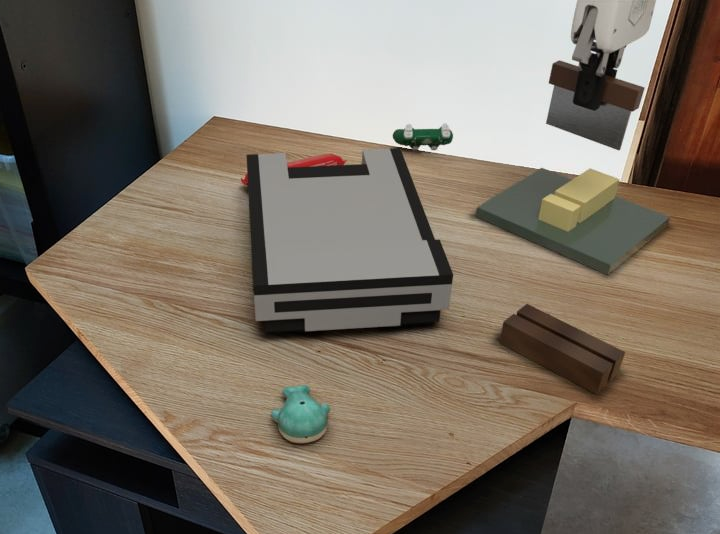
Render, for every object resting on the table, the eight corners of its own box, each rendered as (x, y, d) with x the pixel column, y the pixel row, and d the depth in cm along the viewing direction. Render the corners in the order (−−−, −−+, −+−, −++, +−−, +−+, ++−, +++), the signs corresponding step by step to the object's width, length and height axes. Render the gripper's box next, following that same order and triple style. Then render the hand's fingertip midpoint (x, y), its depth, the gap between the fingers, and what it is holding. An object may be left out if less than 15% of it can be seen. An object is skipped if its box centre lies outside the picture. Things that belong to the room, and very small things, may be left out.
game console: (397, 194, 110) (401, 139, 104) (445, 336, 86) (453, 274, 81) (249, 201, 108) (245, 145, 103) (257, 347, 85) (253, 285, 79)
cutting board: (667, 226, 104) (670, 216, 103) (607, 275, 96) (610, 265, 95) (539, 176, 114) (541, 167, 113) (475, 216, 106) (476, 206, 105)
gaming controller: (392, 156, 123) (397, 143, 117) (391, 132, 123) (396, 118, 117) (450, 155, 123) (458, 142, 117) (449, 131, 123) (457, 117, 117)
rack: (618, 373, 82) (625, 351, 80) (596, 395, 80) (603, 373, 78) (522, 324, 88) (526, 303, 86) (498, 343, 86) (503, 321, 84)
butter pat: (576, 226, 101) (581, 205, 99) (567, 232, 100) (572, 211, 98) (546, 213, 103) (550, 193, 101) (538, 219, 102) (542, 199, 100)
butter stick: (614, 199, 107) (619, 178, 105) (580, 223, 102) (585, 202, 100) (585, 187, 109) (590, 168, 107) (550, 211, 104) (554, 190, 102)
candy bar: (349, 155, 112) (349, 175, 114) (338, 145, 115) (337, 164, 117) (247, 179, 107) (248, 199, 109) (236, 168, 109) (238, 187, 111)
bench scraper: (626, 149, 91) (645, 87, 86) (620, 153, 90) (638, 91, 85) (546, 120, 97) (559, 59, 92) (539, 123, 96) (552, 63, 91)
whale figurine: (274, 451, 73) (273, 423, 71) (267, 398, 79) (266, 370, 76) (335, 445, 74) (336, 416, 72) (325, 393, 79) (324, 365, 77)
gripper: (629, -55, 72) (584, 134, 85) (702, -82, 81) (651, 94, 93) (559, -69, 76) (526, 114, 88) (635, -93, 85) (595, 77, 97)
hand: (590, 103), depth 91 cm, fingers closed on bench scraper, 1 cm apart
